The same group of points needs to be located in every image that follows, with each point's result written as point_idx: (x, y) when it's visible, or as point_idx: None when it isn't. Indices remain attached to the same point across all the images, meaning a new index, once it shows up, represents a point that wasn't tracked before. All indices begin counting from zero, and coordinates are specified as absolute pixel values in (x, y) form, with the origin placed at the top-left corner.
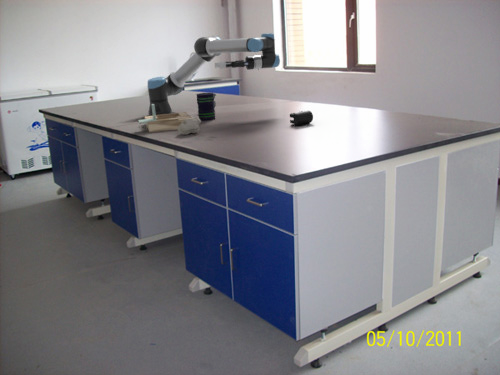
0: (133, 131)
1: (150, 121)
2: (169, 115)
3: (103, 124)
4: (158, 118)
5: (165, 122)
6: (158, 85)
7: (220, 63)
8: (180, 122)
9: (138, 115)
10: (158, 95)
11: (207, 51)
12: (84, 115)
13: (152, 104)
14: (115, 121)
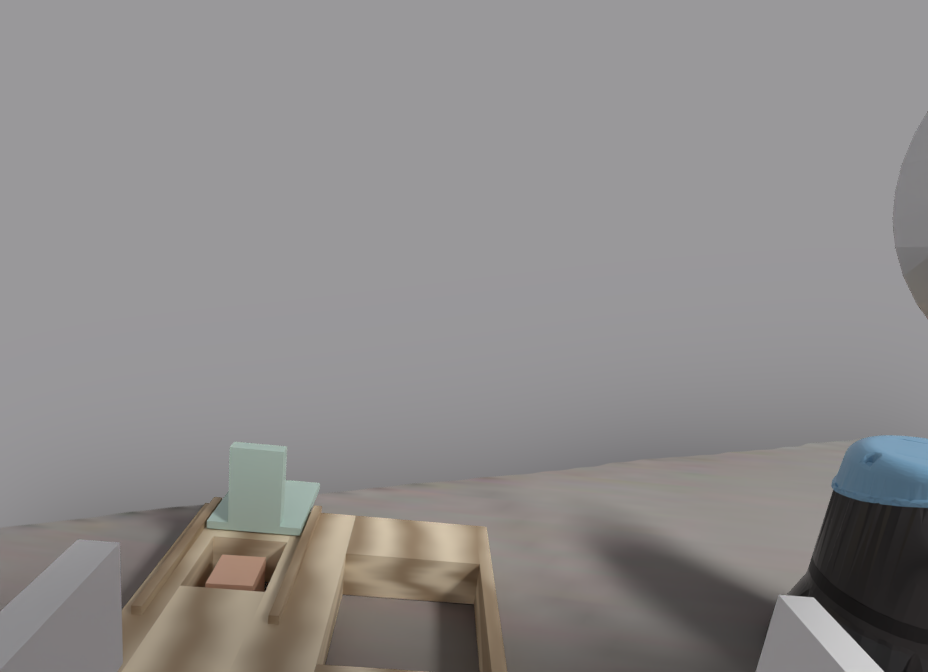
0: None
1: (219, 504)
2: (484, 631)
3: (581, 475)
4: (298, 543)
5: (163, 558)
6: (858, 490)
7: (93, 560)
8: None
9: None
10: (832, 548)
11: (906, 272)
12: None
13: (261, 445)
14: (644, 504)
